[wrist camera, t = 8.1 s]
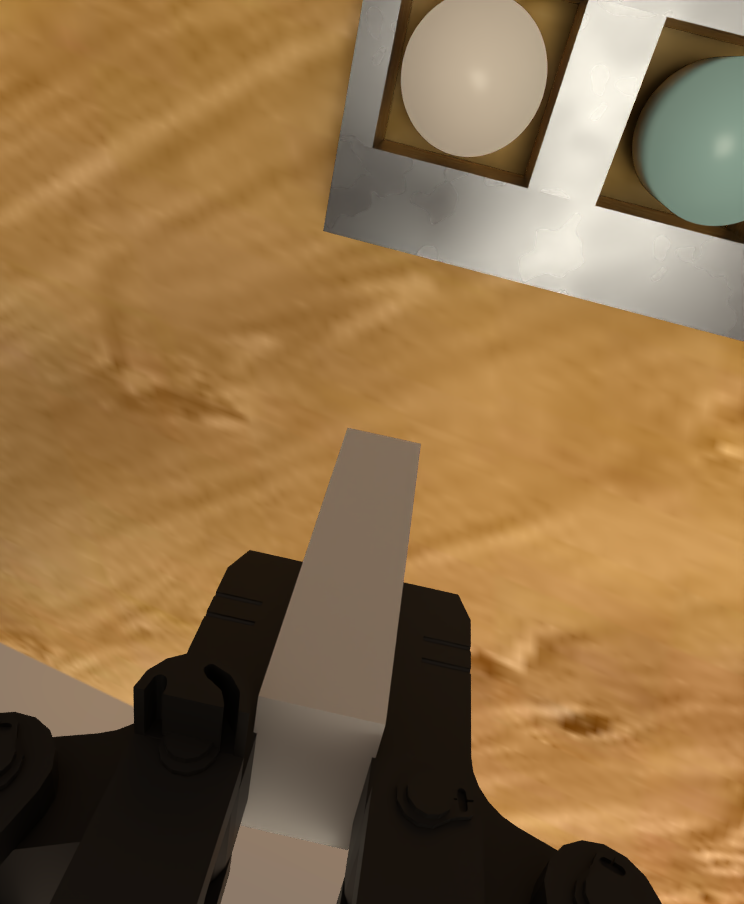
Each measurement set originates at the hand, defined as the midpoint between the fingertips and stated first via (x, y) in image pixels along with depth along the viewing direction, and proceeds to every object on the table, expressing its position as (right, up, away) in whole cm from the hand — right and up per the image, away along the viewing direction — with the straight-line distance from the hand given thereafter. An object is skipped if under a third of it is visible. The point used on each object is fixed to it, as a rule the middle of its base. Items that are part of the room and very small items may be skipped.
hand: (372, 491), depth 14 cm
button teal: (+11, +11, +8) cm, 18 cm away
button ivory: (+4, +14, +10) cm, 18 cm away
